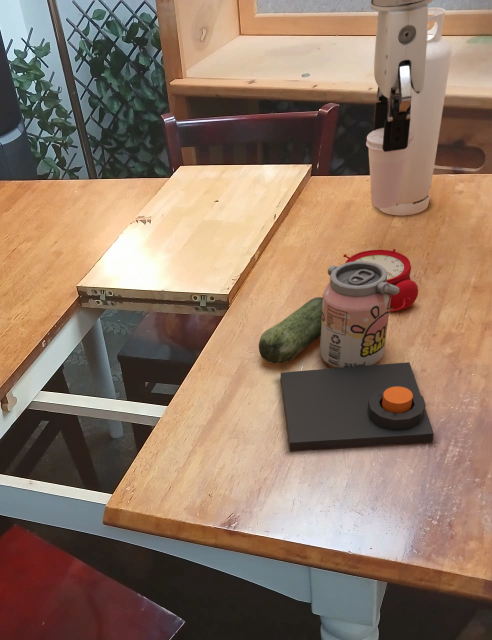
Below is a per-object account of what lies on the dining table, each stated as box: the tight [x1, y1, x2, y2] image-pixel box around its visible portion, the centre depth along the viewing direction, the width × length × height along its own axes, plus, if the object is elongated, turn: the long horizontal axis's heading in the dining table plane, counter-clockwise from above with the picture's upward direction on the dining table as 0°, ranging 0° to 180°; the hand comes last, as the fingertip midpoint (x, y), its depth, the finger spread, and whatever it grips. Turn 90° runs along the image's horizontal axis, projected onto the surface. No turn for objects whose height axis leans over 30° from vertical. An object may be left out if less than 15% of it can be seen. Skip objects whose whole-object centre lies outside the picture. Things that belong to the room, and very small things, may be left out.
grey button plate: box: [279, 361, 435, 452], centre depth 89 cm, size 16×14×3 cm
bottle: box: [378, 7, 453, 216], centre depth 115 cm, size 8×8×28 cm
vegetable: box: [258, 296, 323, 365], centre depth 99 cm, size 14×5×5 cm, turn 133°
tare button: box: [382, 386, 413, 413], centre depth 85 cm, size 3×3×2 cm
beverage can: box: [319, 261, 399, 368], centre depth 93 cm, size 9×8×12 cm
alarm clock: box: [343, 248, 419, 313], centre depth 105 cm, size 10×6×15 cm
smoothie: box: [365, 128, 414, 209], centre depth 105 cm, size 6×6×14 cm
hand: (390, 139), depth 103 cm, fingers closed on smoothie, 6 cm apart
